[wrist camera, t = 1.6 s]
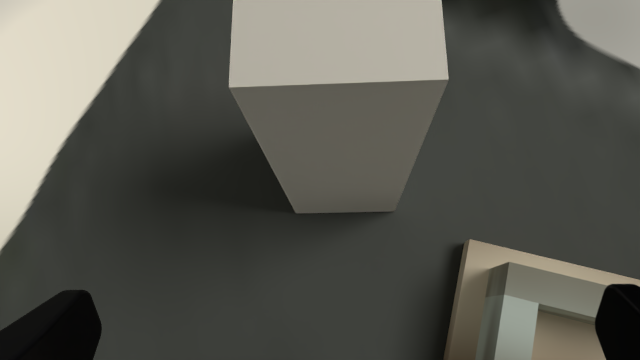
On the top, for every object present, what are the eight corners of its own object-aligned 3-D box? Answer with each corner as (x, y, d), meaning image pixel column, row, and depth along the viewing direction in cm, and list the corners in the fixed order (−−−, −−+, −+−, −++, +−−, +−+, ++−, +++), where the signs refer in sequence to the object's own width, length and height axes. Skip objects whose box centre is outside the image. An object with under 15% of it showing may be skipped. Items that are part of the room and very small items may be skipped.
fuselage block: (394, 211, 22) (448, 79, 10) (295, 213, 22) (228, 87, 10) (389, 119, 23) (432, -99, 11) (296, 122, 23) (237, -87, 11)
